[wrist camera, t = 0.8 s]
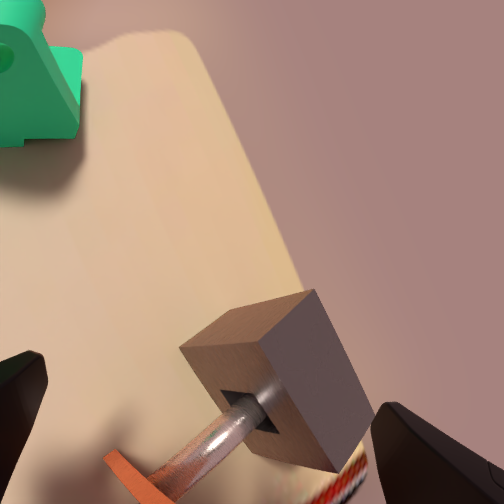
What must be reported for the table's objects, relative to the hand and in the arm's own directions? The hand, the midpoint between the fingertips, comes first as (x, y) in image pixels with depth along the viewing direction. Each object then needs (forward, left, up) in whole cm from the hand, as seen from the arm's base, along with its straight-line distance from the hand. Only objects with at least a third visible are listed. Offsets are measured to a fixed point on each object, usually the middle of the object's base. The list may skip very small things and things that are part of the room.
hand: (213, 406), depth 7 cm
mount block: (+5, -9, -12) cm, 16 cm away
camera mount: (+8, +18, -13) cm, 24 cm away
